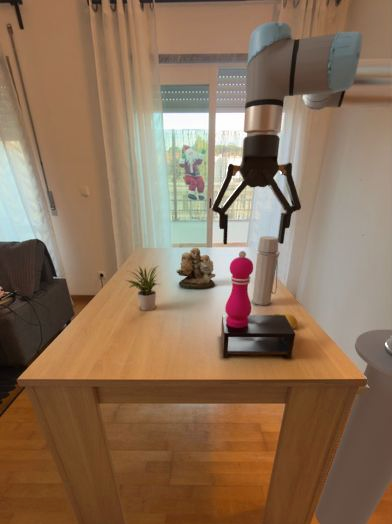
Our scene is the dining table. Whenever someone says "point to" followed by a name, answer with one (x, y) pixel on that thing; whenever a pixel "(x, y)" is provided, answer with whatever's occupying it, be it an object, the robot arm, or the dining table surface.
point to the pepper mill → (239, 292)
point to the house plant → (145, 288)
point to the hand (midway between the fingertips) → (252, 243)
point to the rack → (259, 336)
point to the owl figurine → (196, 270)
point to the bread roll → (290, 319)
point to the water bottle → (265, 270)
